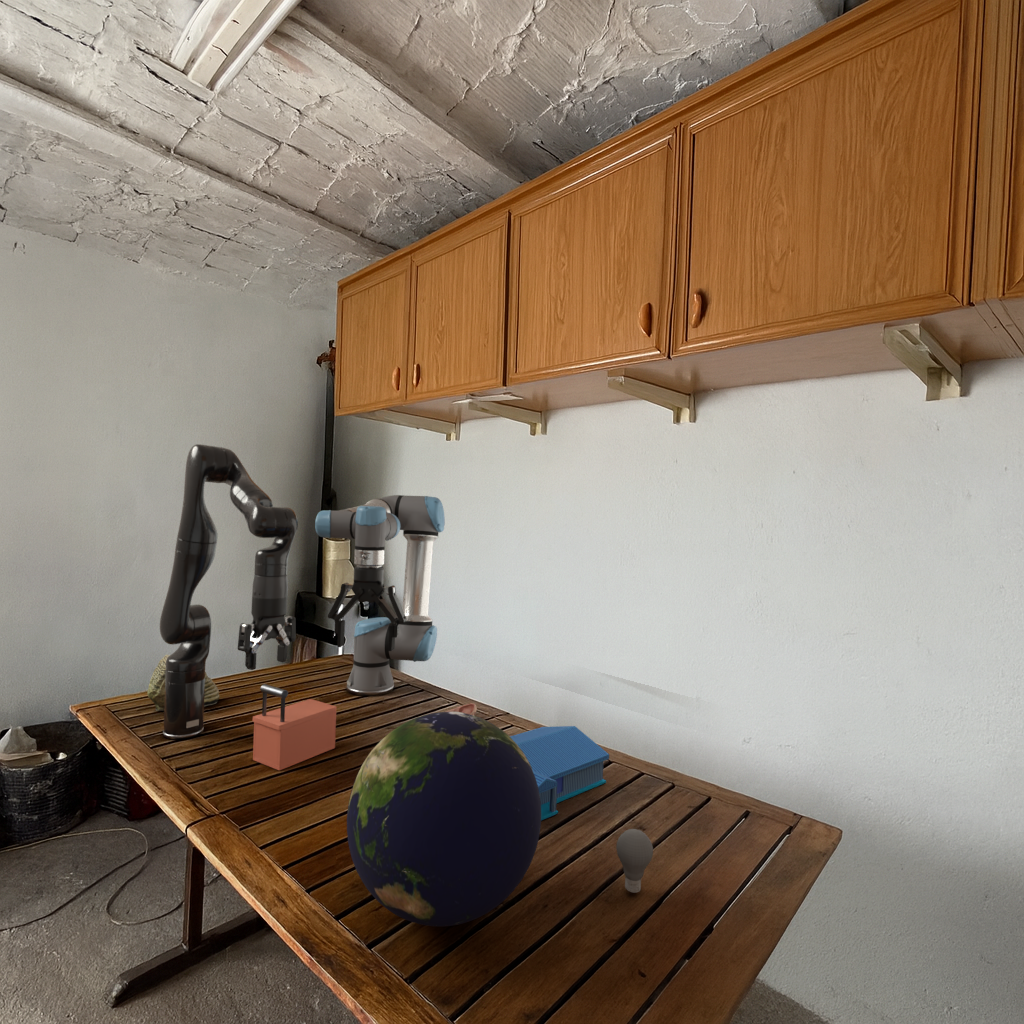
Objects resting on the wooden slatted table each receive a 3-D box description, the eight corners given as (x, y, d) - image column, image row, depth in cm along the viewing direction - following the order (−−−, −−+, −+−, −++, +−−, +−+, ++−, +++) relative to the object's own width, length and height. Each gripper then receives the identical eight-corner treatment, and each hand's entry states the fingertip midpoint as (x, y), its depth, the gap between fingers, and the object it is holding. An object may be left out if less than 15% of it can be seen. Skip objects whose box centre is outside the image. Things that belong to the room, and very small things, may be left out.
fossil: (144, 707, 182) (145, 655, 182) (212, 696, 194) (213, 647, 194) (151, 716, 175) (153, 662, 175) (221, 703, 188) (223, 653, 188)
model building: (485, 844, 118) (488, 791, 117) (412, 795, 136) (414, 749, 136) (617, 787, 144) (619, 743, 144) (541, 752, 162) (543, 713, 162)
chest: (279, 770, 145) (280, 730, 145) (252, 760, 150) (254, 721, 150) (335, 748, 160) (336, 711, 159) (309, 739, 165) (310, 703, 164)
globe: (299, 937, 91) (307, 730, 90) (409, 838, 119) (415, 679, 118) (489, 1009, 80) (499, 773, 79) (561, 881, 107) (569, 705, 107)
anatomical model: (424, 710, 178) (437, 698, 190) (423, 724, 179) (436, 711, 190) (469, 715, 176) (480, 702, 187) (469, 729, 176) (479, 716, 187)
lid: (279, 730, 145) (280, 693, 145) (252, 721, 150) (253, 685, 150) (336, 710, 159) (337, 677, 159) (310, 703, 164) (311, 670, 164)
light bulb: (610, 879, 108) (613, 822, 108) (644, 879, 109) (647, 822, 109) (619, 902, 102) (622, 840, 102) (655, 901, 103) (658, 840, 103)
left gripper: (255, 600, 136) (252, 675, 136) (305, 593, 148) (302, 661, 149) (231, 596, 139) (228, 669, 140) (282, 589, 152) (279, 656, 152)
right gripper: (316, 564, 161) (313, 647, 161) (412, 570, 158) (408, 654, 158) (328, 561, 168) (325, 641, 169) (420, 567, 165) (416, 647, 166)
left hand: (266, 665), depth 144 cm, fingers open, 8 cm apart
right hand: (366, 648), depth 163 cm, fingers open, 13 cm apart
